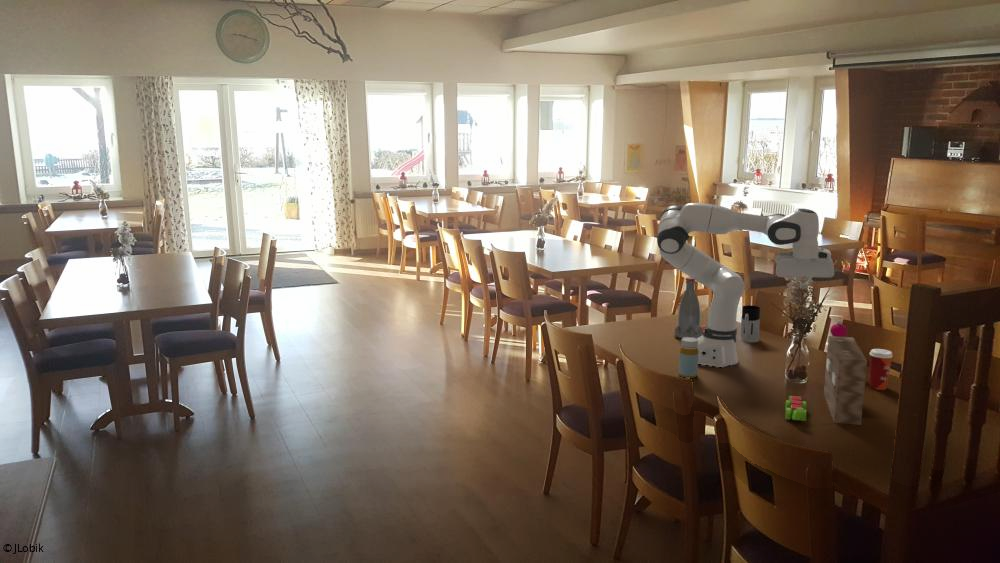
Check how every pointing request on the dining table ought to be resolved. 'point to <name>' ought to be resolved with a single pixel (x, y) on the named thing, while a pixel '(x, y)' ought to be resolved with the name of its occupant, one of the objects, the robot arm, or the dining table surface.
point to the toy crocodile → (795, 408)
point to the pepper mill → (838, 330)
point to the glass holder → (750, 323)
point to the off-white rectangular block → (834, 378)
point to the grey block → (828, 365)
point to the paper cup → (879, 368)
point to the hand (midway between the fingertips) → (804, 288)
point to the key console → (845, 380)
